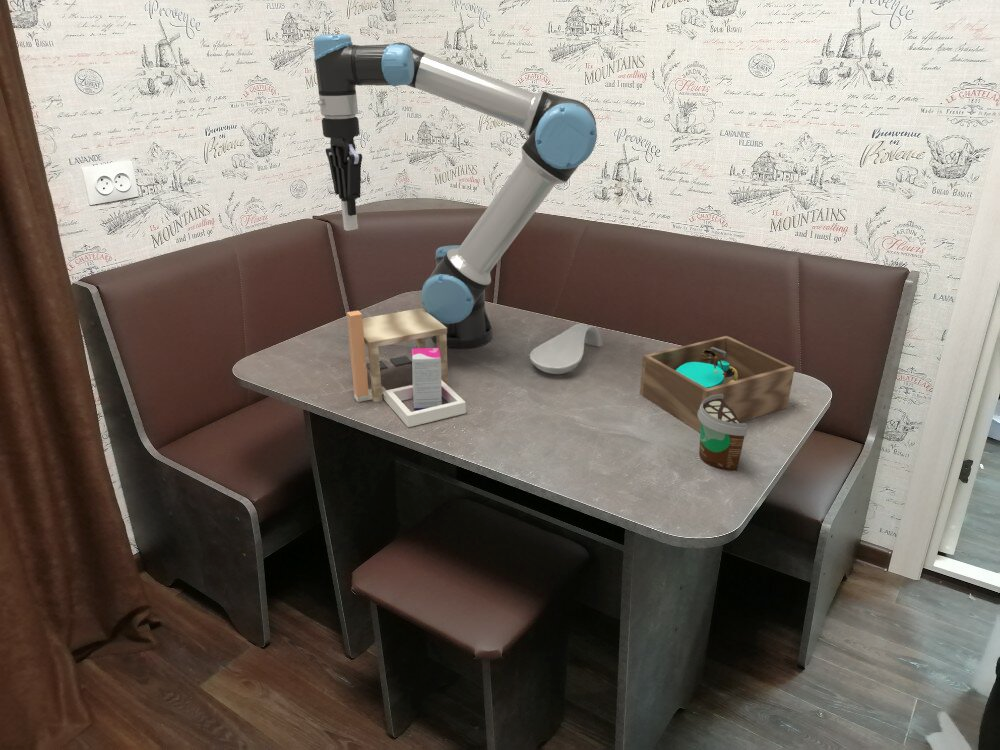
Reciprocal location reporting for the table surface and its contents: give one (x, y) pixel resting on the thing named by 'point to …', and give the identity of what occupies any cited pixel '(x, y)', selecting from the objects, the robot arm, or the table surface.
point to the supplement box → (426, 378)
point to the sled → (398, 394)
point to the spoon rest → (565, 349)
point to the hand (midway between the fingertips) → (351, 229)
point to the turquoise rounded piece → (709, 370)
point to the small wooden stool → (401, 339)
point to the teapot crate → (748, 396)
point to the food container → (720, 434)
